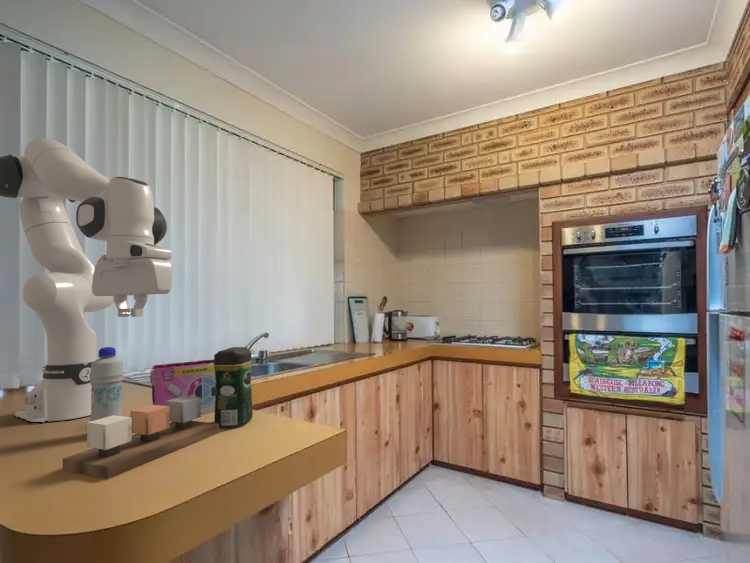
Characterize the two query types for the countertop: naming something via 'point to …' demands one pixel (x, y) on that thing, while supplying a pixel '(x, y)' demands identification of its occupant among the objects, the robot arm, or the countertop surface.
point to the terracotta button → (150, 419)
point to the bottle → (106, 385)
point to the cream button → (109, 432)
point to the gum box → (184, 383)
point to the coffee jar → (233, 387)
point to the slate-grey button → (184, 409)
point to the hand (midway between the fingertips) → (130, 316)
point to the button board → (139, 449)
